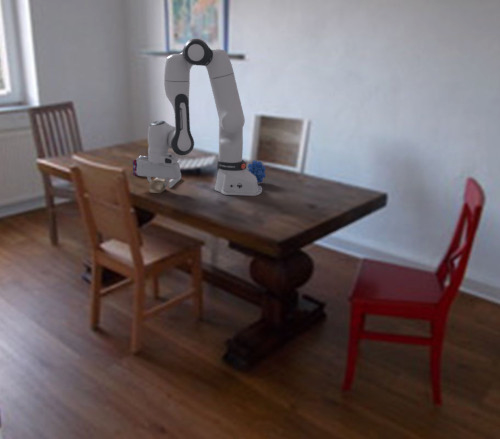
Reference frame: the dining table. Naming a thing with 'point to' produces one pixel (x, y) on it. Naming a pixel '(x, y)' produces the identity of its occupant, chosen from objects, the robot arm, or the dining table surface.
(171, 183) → the white u-shaped frame
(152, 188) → the block
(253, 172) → the grapes
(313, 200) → the dining table surface
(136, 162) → the mug
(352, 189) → the dining table surface
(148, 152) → the robot arm
